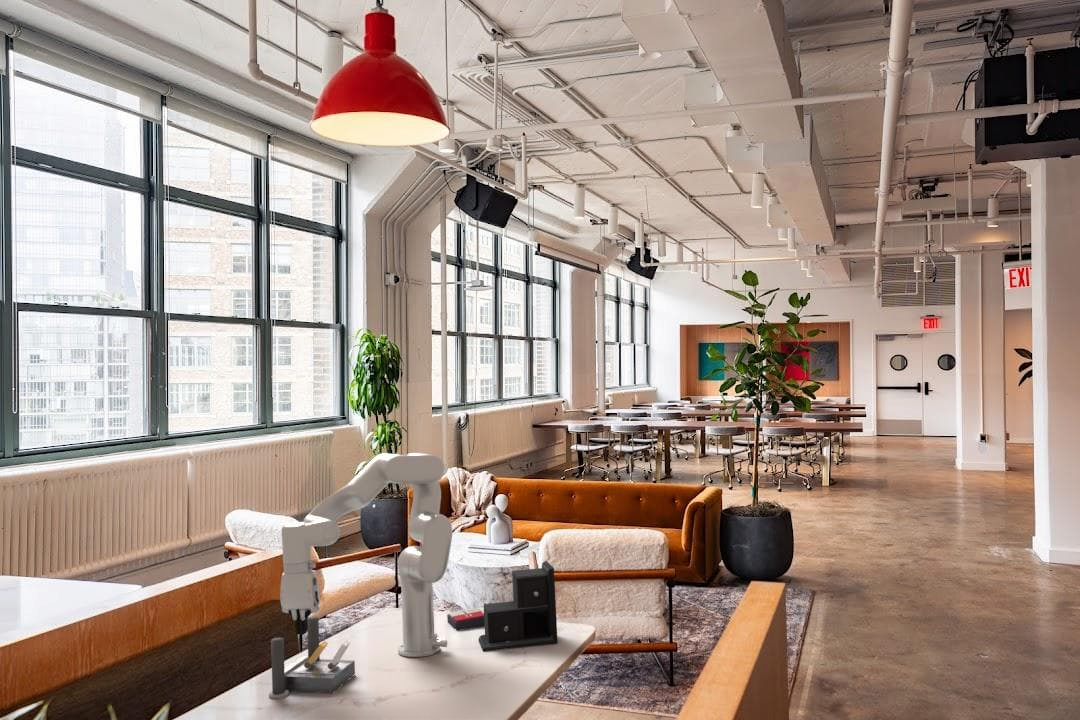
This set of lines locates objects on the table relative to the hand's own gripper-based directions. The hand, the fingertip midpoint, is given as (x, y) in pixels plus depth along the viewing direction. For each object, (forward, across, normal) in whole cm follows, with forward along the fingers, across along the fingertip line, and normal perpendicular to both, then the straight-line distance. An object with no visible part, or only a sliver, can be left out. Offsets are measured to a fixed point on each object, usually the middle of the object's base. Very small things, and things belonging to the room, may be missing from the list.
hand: (302, 633), depth 236 cm
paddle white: (+8, -9, +1) cm, 12 cm away
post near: (+13, +2, +11) cm, 17 cm away
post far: (+13, +2, -9) cm, 16 cm away
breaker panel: (+13, -4, +1) cm, 14 cm away
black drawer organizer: (+16, -51, -39) cm, 66 cm away
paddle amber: (+8, -2, +1) cm, 8 cm away
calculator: (+16, -31, -58) cm, 68 cm away
